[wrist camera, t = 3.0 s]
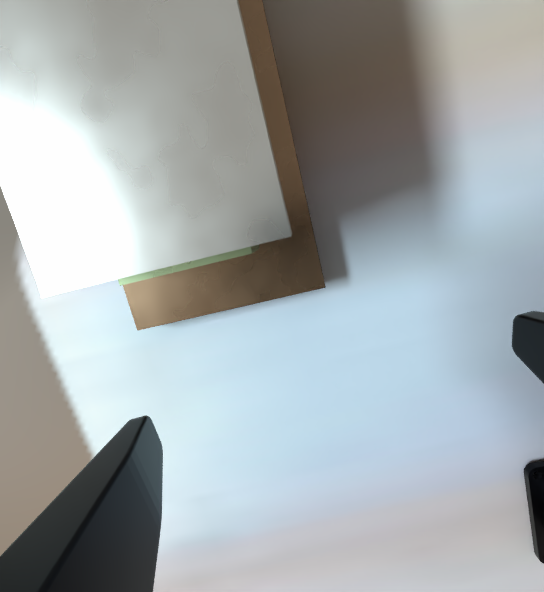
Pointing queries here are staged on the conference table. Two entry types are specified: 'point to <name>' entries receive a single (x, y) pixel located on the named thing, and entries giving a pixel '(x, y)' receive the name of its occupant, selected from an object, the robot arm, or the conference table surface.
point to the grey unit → (152, 154)
